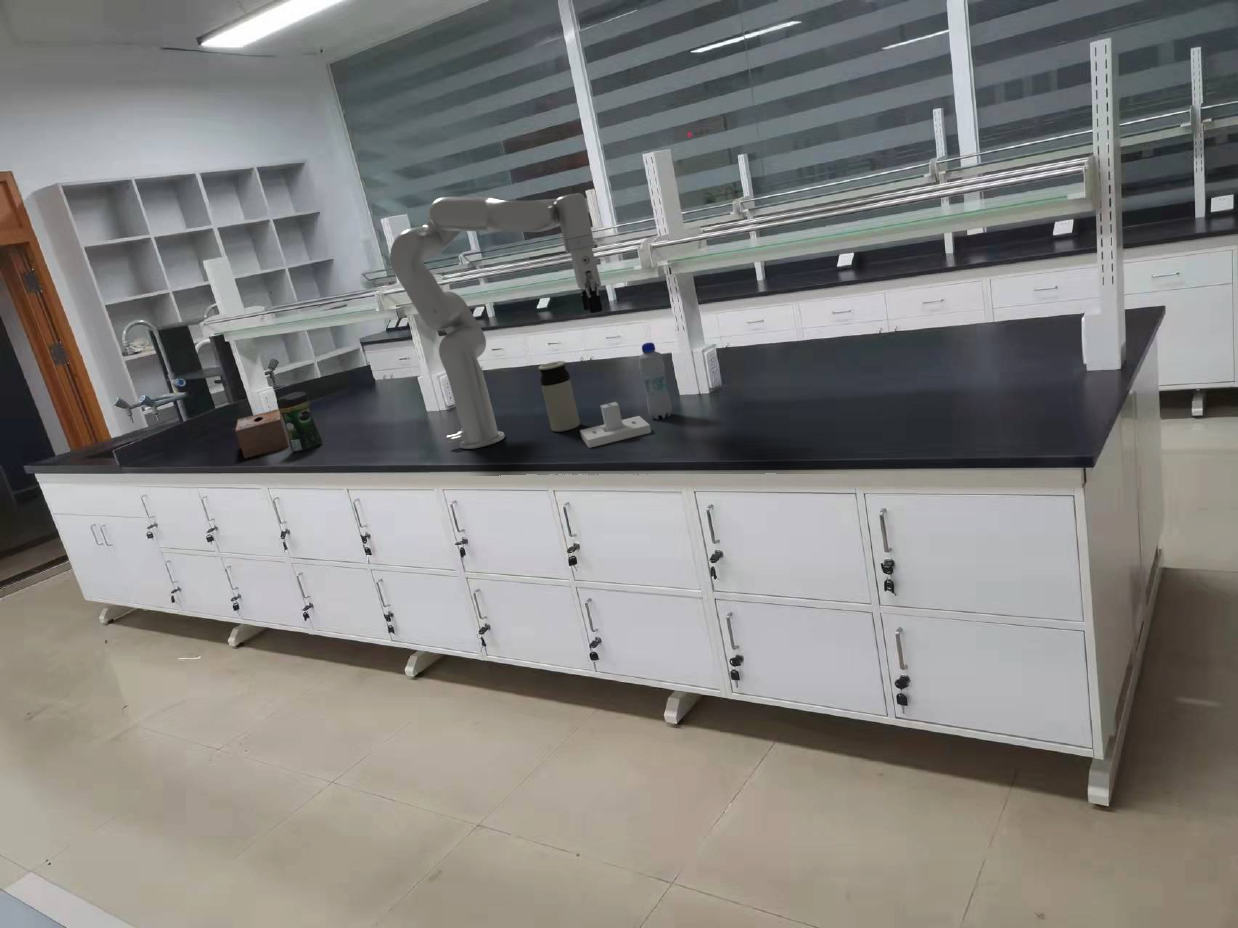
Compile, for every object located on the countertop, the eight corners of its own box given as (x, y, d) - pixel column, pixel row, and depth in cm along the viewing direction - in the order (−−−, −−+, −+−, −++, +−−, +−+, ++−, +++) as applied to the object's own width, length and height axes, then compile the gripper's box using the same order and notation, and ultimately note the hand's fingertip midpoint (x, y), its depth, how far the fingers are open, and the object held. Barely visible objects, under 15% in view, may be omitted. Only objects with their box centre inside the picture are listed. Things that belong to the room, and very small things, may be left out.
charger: (609, 438, 222) (603, 407, 219) (606, 435, 226) (600, 405, 223) (624, 434, 222) (618, 404, 220) (621, 431, 226) (615, 401, 224)
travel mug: (553, 434, 238) (539, 369, 233) (550, 428, 246) (535, 365, 241) (582, 427, 239) (568, 363, 234) (577, 421, 247) (564, 359, 242)
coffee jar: (311, 443, 295) (294, 390, 290) (326, 443, 290) (310, 388, 285) (287, 453, 287) (270, 398, 282) (303, 452, 283) (285, 397, 278)
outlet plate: (589, 447, 217) (587, 439, 216) (581, 437, 228) (579, 429, 228) (651, 432, 219) (649, 424, 219) (640, 423, 231) (639, 415, 230)
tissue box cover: (246, 445, 317) (237, 419, 314) (287, 434, 321) (279, 408, 319) (245, 459, 293) (235, 430, 291) (289, 447, 298) (280, 419, 295)
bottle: (656, 413, 237) (642, 341, 231) (678, 412, 233) (664, 338, 228) (644, 421, 232) (629, 347, 226) (666, 420, 228) (652, 344, 222)
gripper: (599, 241, 217) (613, 310, 221) (588, 241, 233) (601, 305, 238) (570, 247, 216) (584, 316, 220) (560, 247, 232) (574, 311, 237)
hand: (593, 310), depth 229 cm, fingers open, 9 cm apart
